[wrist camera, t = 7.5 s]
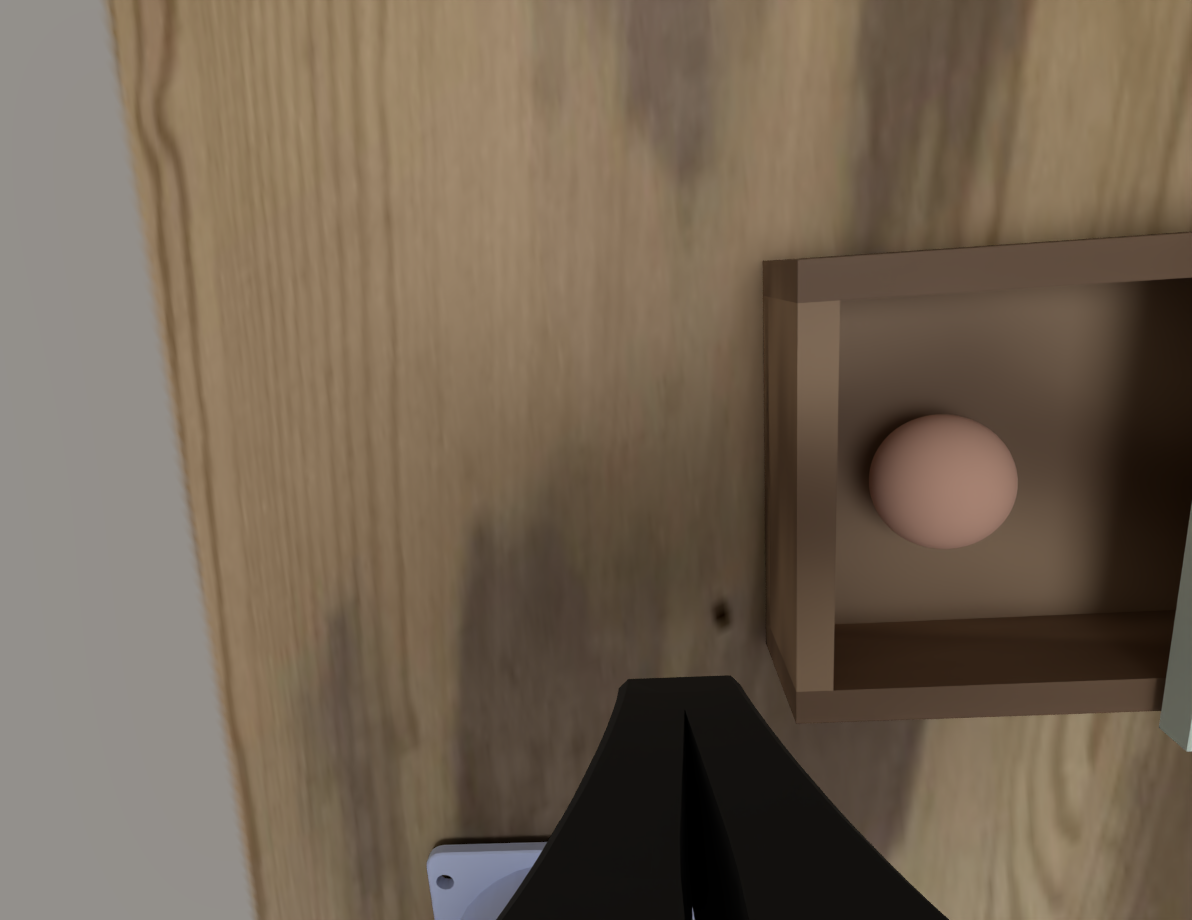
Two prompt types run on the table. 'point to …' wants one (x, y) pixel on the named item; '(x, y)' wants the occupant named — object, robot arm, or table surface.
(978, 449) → the ball
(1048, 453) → the walnut box
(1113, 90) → the table surface
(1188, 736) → the lid
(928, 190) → the table surface
